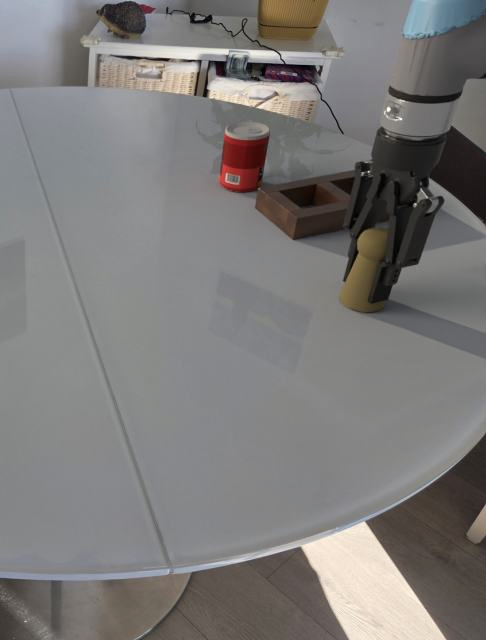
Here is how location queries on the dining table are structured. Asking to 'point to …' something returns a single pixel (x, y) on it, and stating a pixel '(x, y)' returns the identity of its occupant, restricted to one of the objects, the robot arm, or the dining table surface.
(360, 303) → the tan pawn
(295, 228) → the caddy
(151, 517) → the dining table surface
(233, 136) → the canned food
